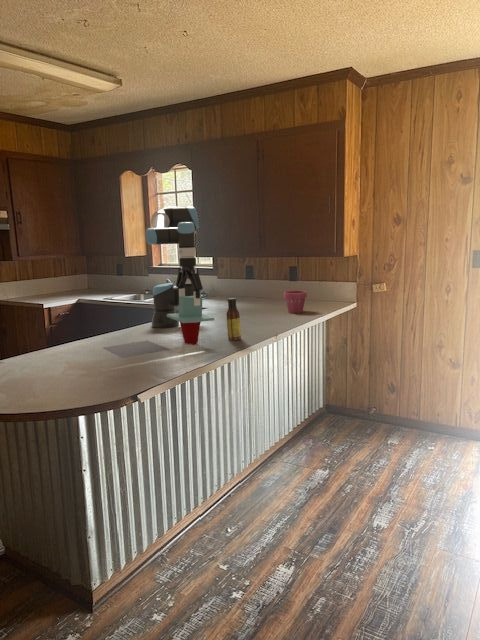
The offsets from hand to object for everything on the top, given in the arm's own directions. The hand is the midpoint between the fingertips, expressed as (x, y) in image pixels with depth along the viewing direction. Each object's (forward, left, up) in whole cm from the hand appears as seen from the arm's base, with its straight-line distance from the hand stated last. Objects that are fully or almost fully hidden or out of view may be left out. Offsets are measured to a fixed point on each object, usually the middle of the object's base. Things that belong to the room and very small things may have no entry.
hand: (189, 304), depth 224 cm
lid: (0, 0, -7) cm, 7 cm away
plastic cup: (0, 0, -19) cm, 19 cm away
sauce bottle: (+6, +20, -19) cm, 28 cm away
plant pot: (-33, +94, -19) cm, 101 cm away
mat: (-6, -25, -19) cm, 32 cm away
